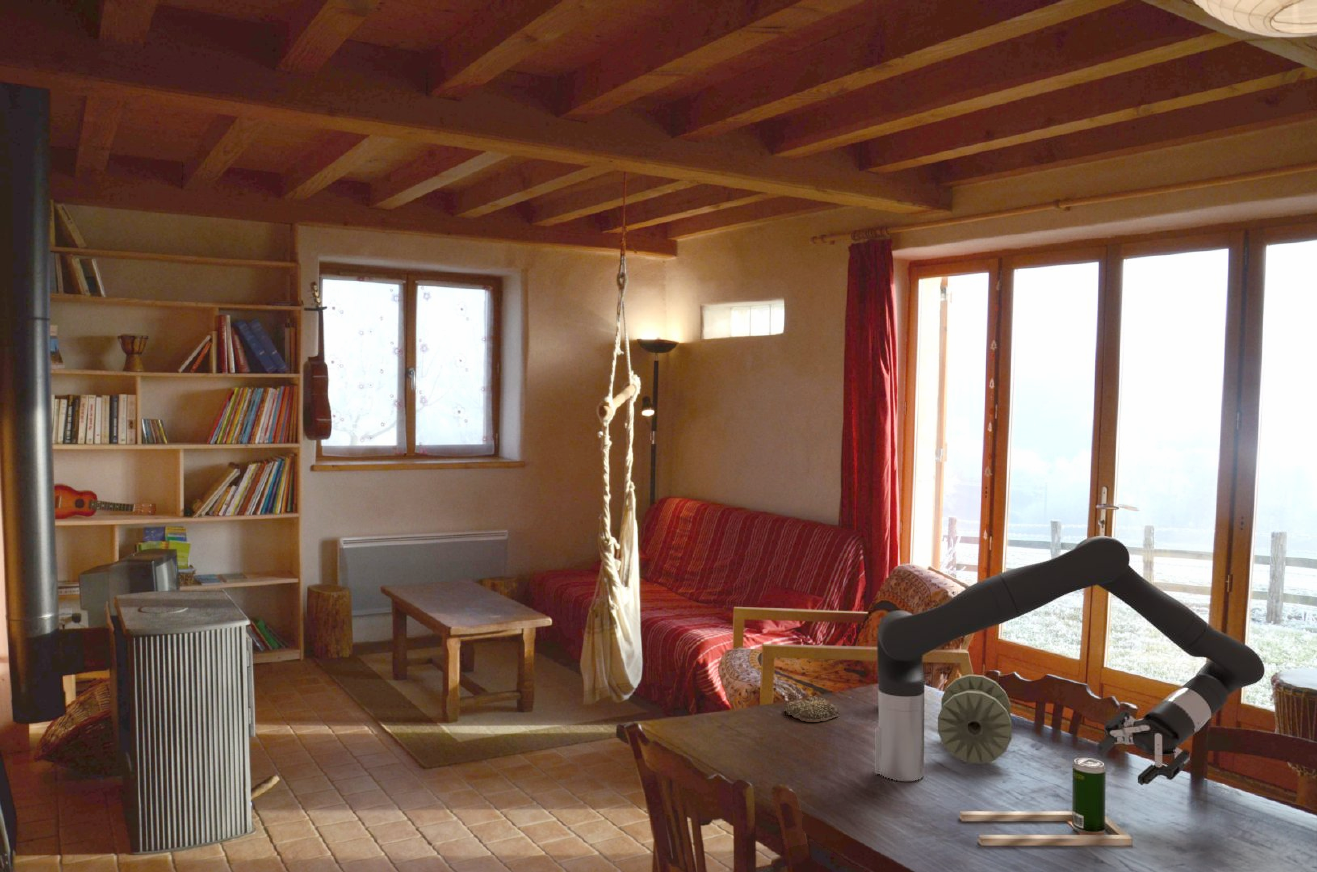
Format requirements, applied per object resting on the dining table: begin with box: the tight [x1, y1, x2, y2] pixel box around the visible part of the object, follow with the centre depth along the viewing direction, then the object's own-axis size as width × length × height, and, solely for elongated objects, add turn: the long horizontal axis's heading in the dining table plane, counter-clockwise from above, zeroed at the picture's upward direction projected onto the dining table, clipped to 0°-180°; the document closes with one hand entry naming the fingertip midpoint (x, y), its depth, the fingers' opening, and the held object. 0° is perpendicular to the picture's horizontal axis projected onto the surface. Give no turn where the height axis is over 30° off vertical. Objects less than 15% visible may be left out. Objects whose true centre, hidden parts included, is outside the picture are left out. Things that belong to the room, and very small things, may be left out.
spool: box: [937, 674, 1013, 765], centre depth 220 cm, size 16×15×15 cm
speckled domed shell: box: [783, 695, 840, 720], centre depth 247 cm, size 13×12×5 cm
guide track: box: [959, 810, 1134, 847], centre depth 176 cm, size 26×12×1 cm, turn 90°
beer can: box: [1071, 757, 1107, 835], centre depth 176 cm, size 5×5×12 cm
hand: (1119, 766), depth 182 cm, fingers open, 8 cm apart
